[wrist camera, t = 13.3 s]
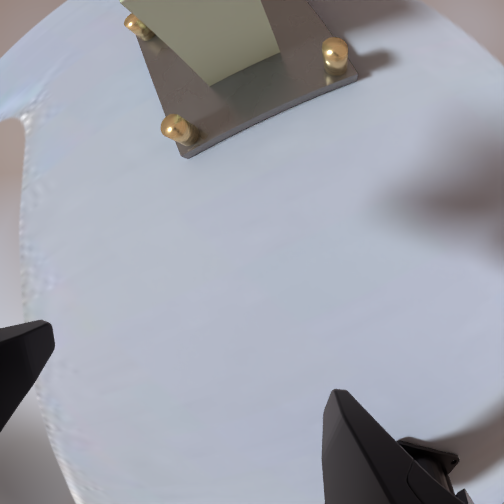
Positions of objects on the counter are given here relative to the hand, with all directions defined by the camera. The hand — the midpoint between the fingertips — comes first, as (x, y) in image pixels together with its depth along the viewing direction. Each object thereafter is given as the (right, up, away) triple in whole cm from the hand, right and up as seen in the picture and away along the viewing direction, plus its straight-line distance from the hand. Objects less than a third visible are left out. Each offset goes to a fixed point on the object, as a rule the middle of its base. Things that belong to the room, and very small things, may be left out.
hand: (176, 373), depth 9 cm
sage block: (+1, +17, +9) cm, 19 cm away
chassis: (+1, +17, +10) cm, 20 cm away
